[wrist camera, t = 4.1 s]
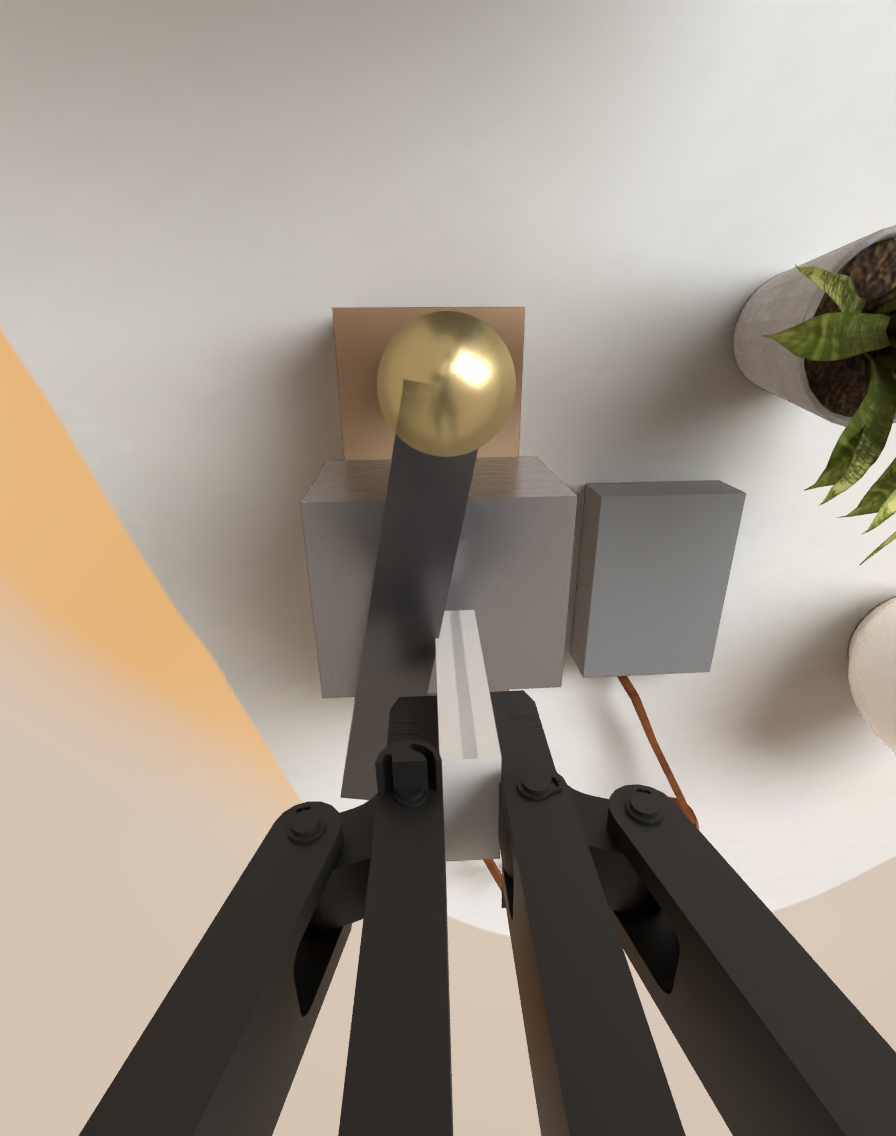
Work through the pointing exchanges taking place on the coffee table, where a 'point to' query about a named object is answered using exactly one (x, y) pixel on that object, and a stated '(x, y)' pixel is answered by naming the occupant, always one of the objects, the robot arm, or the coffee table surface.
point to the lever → (422, 510)
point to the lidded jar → (876, 671)
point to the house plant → (833, 356)
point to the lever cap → (480, 575)
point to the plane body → (358, 365)
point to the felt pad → (653, 576)
